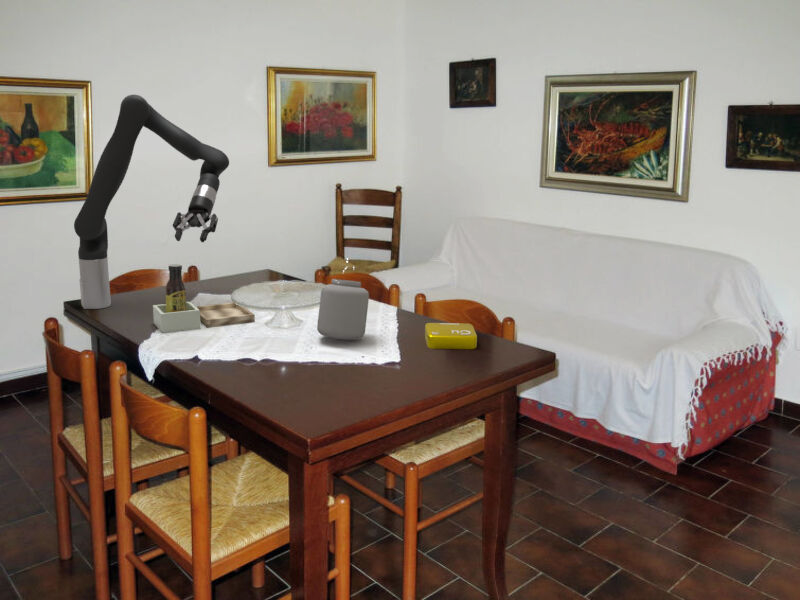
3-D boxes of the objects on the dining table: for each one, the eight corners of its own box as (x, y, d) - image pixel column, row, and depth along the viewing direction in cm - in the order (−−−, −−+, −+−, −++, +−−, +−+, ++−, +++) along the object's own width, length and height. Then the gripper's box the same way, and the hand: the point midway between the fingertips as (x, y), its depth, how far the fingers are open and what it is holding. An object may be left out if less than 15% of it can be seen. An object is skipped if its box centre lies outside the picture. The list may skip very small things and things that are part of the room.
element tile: (471, 336, 244) (471, 321, 243) (477, 350, 229) (478, 335, 228) (424, 335, 243) (424, 320, 242) (427, 349, 229) (428, 334, 228)
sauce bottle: (174, 329, 241) (171, 268, 237) (162, 326, 245) (159, 265, 240) (191, 325, 247) (188, 265, 242) (179, 321, 250) (176, 262, 245)
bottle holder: (162, 332, 238) (161, 314, 236) (153, 323, 248) (152, 305, 246) (200, 328, 244) (199, 310, 242) (190, 319, 254) (190, 301, 252)
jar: (338, 327, 248) (339, 251, 242) (379, 333, 242) (380, 256, 236) (308, 342, 232) (307, 261, 226) (350, 349, 226) (351, 267, 220)
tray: (206, 327, 245) (206, 320, 244) (192, 314, 260) (191, 307, 259) (254, 321, 252) (254, 314, 252) (237, 309, 267) (237, 302, 267)
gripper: (179, 193, 257) (165, 232, 249) (219, 195, 254) (206, 234, 246) (187, 207, 263) (173, 246, 255) (226, 209, 261) (213, 248, 253)
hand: (189, 240), depth 251 cm, fingers open, 8 cm apart
